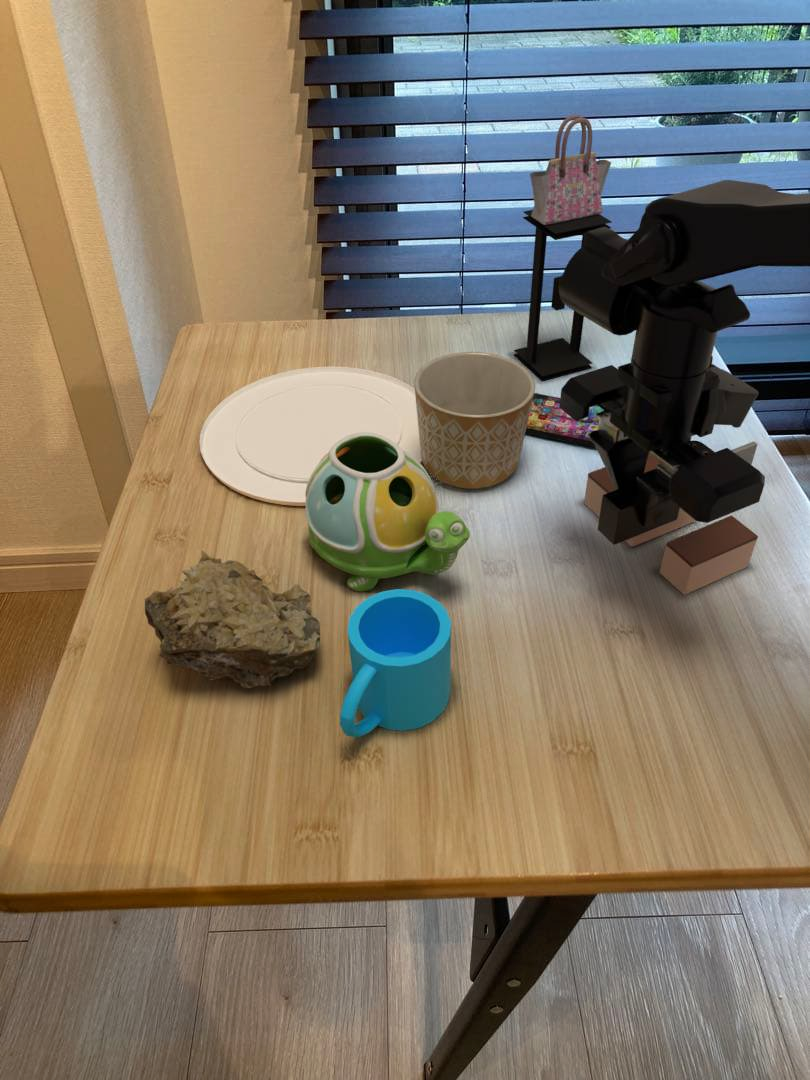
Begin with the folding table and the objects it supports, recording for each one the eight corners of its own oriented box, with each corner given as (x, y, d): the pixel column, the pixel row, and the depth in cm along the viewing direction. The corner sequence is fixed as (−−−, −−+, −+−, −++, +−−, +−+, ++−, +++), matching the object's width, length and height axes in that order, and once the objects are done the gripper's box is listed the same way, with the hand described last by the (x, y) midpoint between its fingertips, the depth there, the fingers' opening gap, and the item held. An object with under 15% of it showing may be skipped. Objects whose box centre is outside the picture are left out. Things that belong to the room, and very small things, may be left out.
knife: (613, 545, 73) (620, 505, 70) (596, 529, 75) (603, 489, 72) (753, 488, 78) (765, 449, 75) (735, 475, 80) (746, 435, 77)
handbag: (532, 383, 108) (553, 133, 88) (504, 357, 113) (518, 114, 93) (602, 365, 111) (638, 118, 91) (572, 340, 116) (599, 101, 96)
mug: (389, 640, 76) (385, 575, 71) (468, 678, 73) (470, 613, 67) (306, 735, 69) (295, 671, 63) (389, 782, 65) (385, 719, 60)
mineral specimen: (345, 602, 80) (336, 522, 73) (311, 713, 70) (297, 633, 64) (200, 586, 82) (178, 508, 75) (147, 692, 72) (118, 613, 66)
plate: (430, 367, 111) (430, 362, 111) (444, 502, 90) (444, 497, 90) (218, 375, 111) (217, 370, 110) (182, 512, 90) (181, 507, 90)
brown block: (748, 566, 82) (758, 536, 79) (683, 595, 79) (692, 564, 77) (722, 545, 84) (731, 515, 82) (659, 572, 82) (666, 542, 79)
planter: (521, 430, 100) (529, 352, 93) (530, 498, 91) (540, 417, 84) (414, 428, 100) (415, 350, 93) (412, 496, 91) (413, 415, 84)
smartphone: (505, 386, 105) (625, 410, 101) (505, 393, 106) (624, 416, 101) (485, 419, 100) (611, 446, 95) (484, 426, 101) (609, 452, 96)
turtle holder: (414, 639, 76) (412, 541, 68) (284, 548, 86) (268, 453, 78) (500, 568, 83) (507, 471, 75) (370, 491, 92) (364, 398, 84)
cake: (693, 522, 87) (701, 491, 84) (631, 547, 84) (637, 516, 82) (643, 480, 92) (649, 450, 90) (583, 502, 90) (588, 473, 87)
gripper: (846, 388, 60) (786, 549, 71) (672, 287, 73) (642, 437, 83) (726, 432, 57) (682, 595, 67) (564, 318, 69) (548, 470, 79)
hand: (638, 516), depth 74 cm, fingers closed on knife, 2 cm apart
